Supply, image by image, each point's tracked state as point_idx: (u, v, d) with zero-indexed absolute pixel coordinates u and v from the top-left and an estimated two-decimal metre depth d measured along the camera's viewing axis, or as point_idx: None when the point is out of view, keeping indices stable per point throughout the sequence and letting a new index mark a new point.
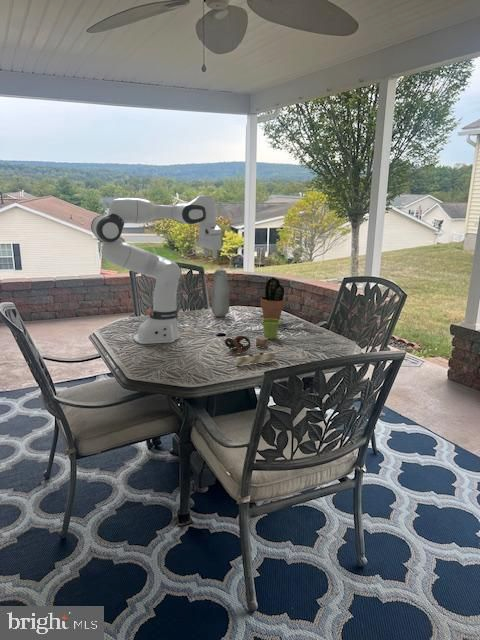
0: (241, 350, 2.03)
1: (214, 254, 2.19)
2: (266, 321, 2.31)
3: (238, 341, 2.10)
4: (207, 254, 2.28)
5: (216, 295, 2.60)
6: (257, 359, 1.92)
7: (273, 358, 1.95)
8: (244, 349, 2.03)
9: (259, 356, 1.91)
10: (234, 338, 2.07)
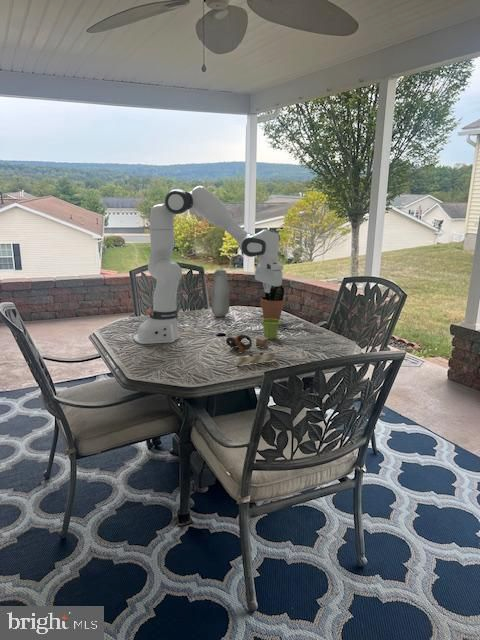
0: (243, 349, 2.04)
1: (268, 288, 2.18)
2: (266, 321, 2.31)
3: (239, 340, 2.12)
4: None
5: (216, 295, 2.60)
6: (257, 359, 1.92)
7: (273, 358, 1.95)
8: (246, 348, 2.05)
9: (259, 356, 1.91)
10: None
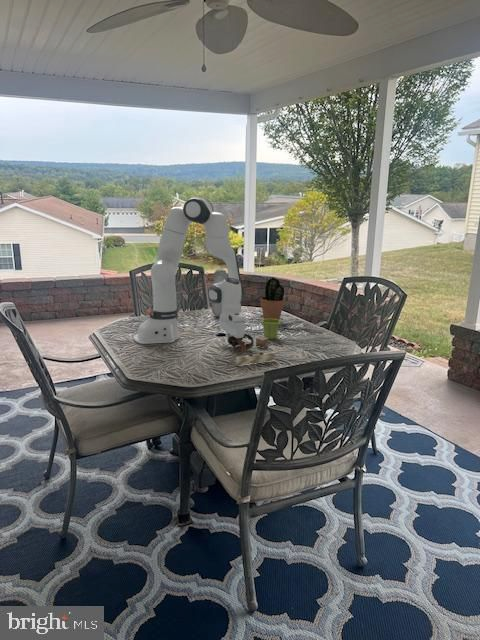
0: (245, 348, 2.06)
1: None
2: (266, 321, 2.31)
3: (240, 339, 2.13)
4: (231, 340, 2.13)
5: None
6: (257, 359, 1.92)
7: (273, 358, 1.95)
8: (248, 347, 2.06)
9: (259, 356, 1.91)
10: None
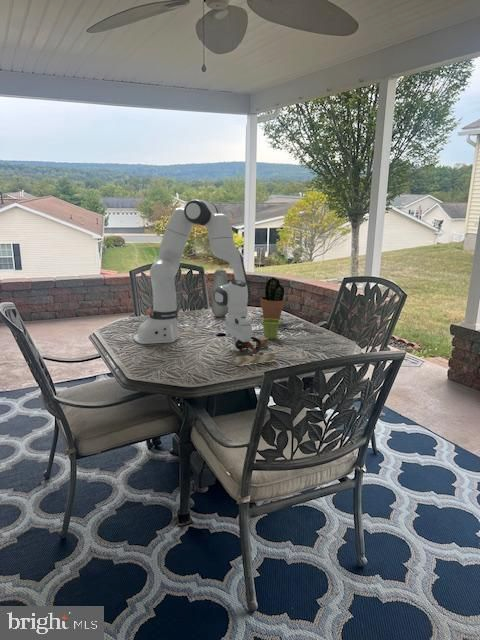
0: (255, 351, 2.02)
1: None
2: (266, 321, 2.31)
3: (245, 342, 2.09)
4: None
5: None
6: (257, 359, 1.92)
7: (273, 358, 1.95)
8: (258, 349, 2.03)
9: (259, 356, 1.91)
10: None
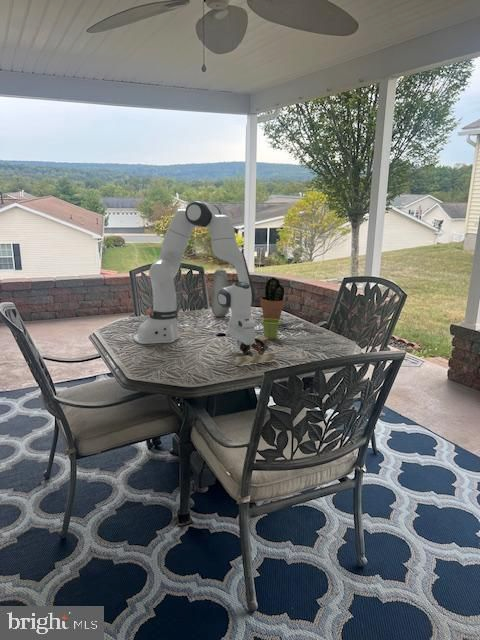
0: None
1: None
2: (266, 321, 2.31)
3: None
4: None
5: (216, 295, 2.60)
6: (257, 359, 1.92)
7: (273, 358, 1.95)
8: (263, 351, 2.01)
9: (259, 356, 1.91)
10: None
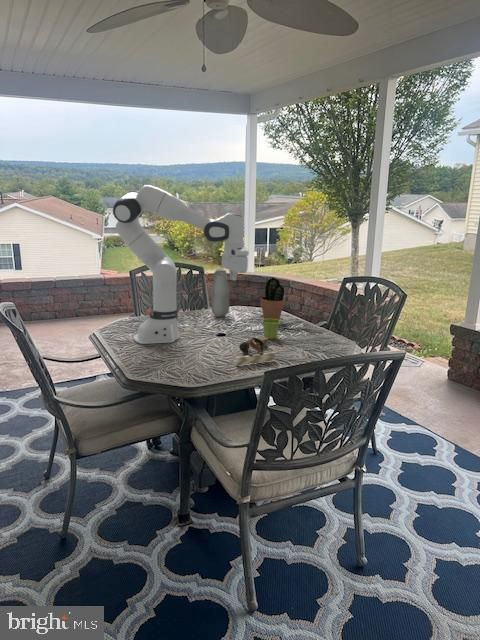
0: (261, 351, 2.01)
1: (234, 275, 2.07)
2: (266, 321, 2.31)
3: None
4: None
5: (216, 295, 2.60)
6: (257, 359, 1.92)
7: (273, 358, 1.95)
8: (262, 350, 2.02)
9: (259, 356, 1.91)
10: (247, 341, 2.03)
